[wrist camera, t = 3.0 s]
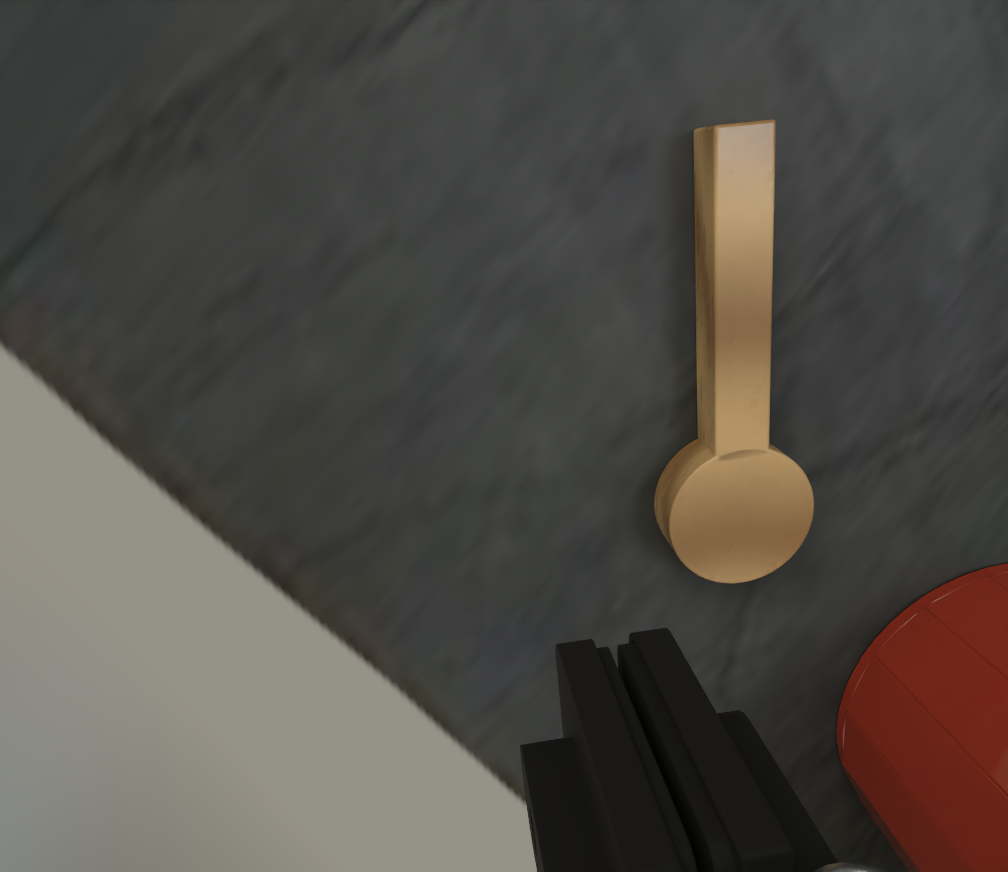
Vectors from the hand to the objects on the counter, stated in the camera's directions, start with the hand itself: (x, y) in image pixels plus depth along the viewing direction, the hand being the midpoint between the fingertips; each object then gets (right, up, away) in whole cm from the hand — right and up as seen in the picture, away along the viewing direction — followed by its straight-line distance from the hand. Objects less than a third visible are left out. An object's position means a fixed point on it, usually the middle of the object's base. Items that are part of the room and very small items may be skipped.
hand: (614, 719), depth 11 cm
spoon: (+5, +5, +11) cm, 13 cm away
